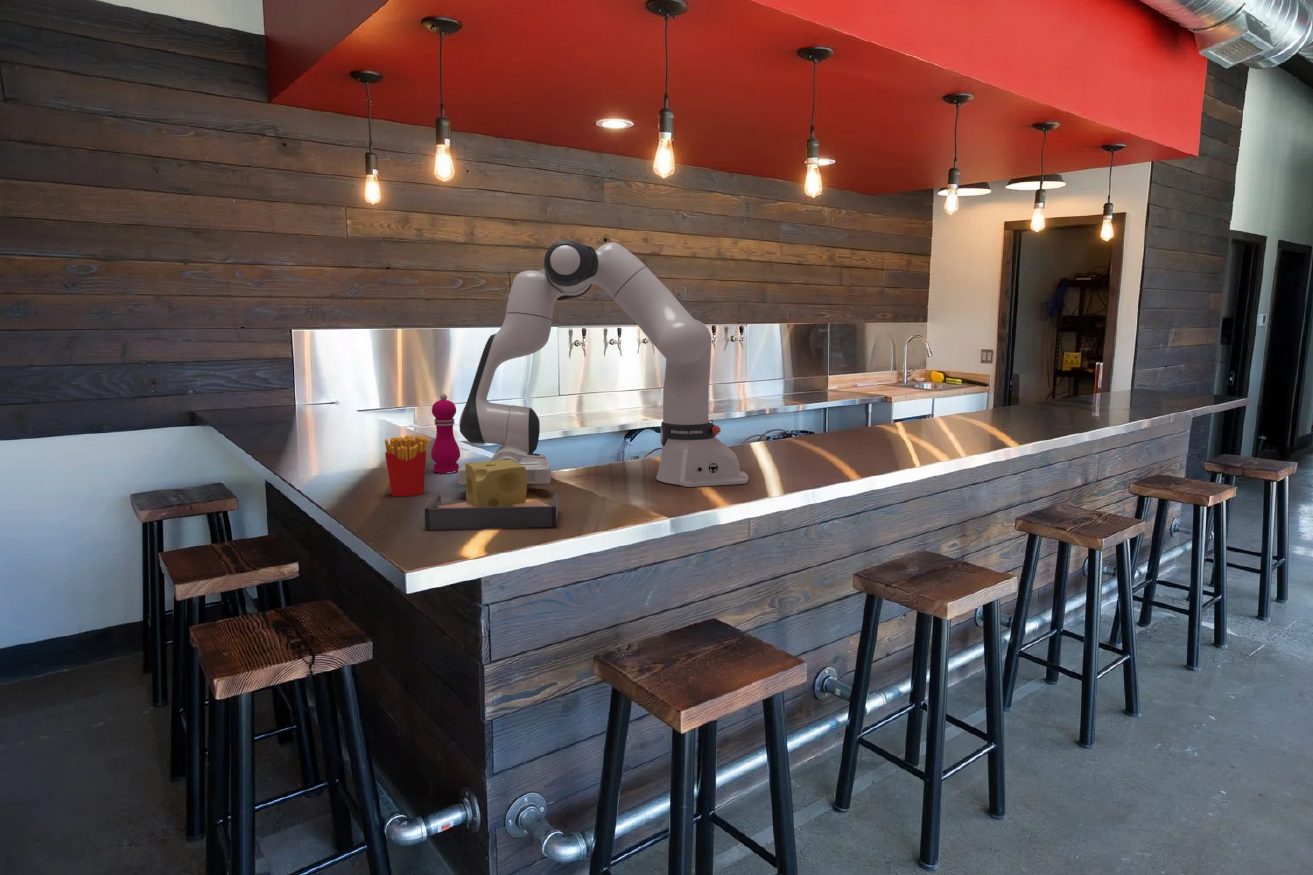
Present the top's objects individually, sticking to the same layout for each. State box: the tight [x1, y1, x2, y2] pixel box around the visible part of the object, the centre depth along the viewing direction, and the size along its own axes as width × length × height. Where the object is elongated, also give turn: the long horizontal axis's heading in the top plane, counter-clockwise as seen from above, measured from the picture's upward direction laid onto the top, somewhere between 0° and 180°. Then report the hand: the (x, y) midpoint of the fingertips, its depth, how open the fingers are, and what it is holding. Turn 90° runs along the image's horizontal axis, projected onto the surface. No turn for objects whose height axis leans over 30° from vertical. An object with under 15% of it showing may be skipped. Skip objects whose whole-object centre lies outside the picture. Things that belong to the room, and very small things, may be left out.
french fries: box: [384, 435, 429, 497], centre depth 178 cm, size 9×4×13 cm, turn 111°
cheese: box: [464, 460, 528, 507], centre depth 162 cm, size 10×11×10 cm
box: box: [424, 492, 560, 531], centre depth 156 cm, size 24×12×4 cm, turn 95°
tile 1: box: [437, 501, 475, 508], centre depth 156 cm, size 6×6×3 cm
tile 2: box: [511, 500, 551, 507], centre depth 158 cm, size 6×6×3 cm
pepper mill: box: [430, 393, 461, 474], centre depth 202 cm, size 7×7×20 cm
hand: (501, 481), depth 169 cm, fingers closed
